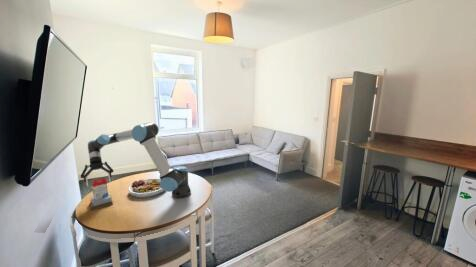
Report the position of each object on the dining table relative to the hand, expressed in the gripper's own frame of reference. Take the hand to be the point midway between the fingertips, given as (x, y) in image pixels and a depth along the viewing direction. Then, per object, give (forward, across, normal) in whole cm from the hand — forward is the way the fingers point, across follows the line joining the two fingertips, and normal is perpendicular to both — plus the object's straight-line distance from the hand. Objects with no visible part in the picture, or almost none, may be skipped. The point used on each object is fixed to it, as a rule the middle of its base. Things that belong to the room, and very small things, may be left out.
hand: (99, 183), depth 148 cm
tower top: (+9, 0, -12) cm, 15 cm away
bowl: (+10, -34, -15) cm, 39 cm away
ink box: (+7, 0, -10) cm, 12 cm away
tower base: (+11, 0, -14) cm, 18 cm away
